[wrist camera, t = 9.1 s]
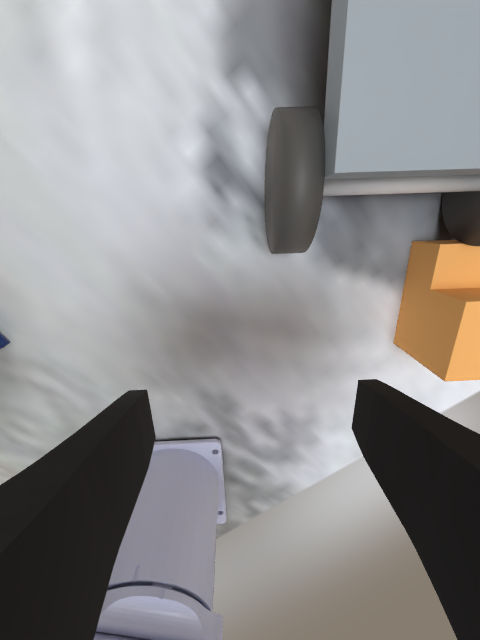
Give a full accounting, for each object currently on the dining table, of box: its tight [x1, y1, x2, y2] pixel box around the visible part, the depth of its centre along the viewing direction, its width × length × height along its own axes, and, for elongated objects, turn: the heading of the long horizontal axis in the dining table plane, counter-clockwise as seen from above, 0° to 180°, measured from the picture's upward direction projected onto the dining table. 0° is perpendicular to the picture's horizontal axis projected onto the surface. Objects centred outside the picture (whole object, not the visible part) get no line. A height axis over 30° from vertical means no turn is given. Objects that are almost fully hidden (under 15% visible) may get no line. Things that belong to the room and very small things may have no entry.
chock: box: [394, 240, 480, 381], centre depth 16 cm, size 7×4×5 cm, turn 2°
